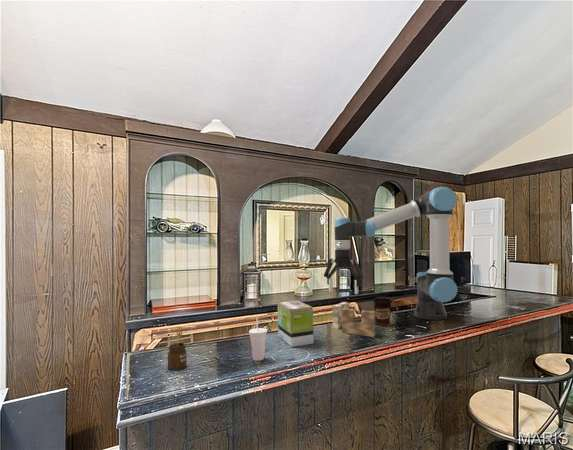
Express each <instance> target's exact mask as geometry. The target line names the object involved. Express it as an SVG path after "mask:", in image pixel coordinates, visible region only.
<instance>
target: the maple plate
mask: <svg viewBox="0 0 573 450" xmlns="http://www.w3.org/2000/svg"><path fill="white" fill-rule="evenodd" d="M331 308H332V312H331V313H332V329H335V330H340V329H342V309H343V308H346V309H350V308H349V301H342V302H339V303H337V304H334V305H333V306H331Z"/></svg>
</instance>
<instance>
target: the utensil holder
mask: <svg viewBox="0 0 573 450" xmlns="http://www.w3.org/2000/svg"><path fill="white" fill-rule="evenodd" d="M182 335H183V326H178V327H177V330H176V333H175V334H173V335H172V336H171V342H172V341H173V342H172V343H171V344H169V346H168V352H167V368H168V369H169V370H173V371H174V370H176V371H177V370H182V369H183V368H185V367H186V366H187V361H188V360H187V350H186V344H185V343H184V342H181V341H180V338H181V337H182ZM174 336H175V339H177V342H175V340H173V338H174Z"/></svg>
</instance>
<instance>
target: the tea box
mask: <svg viewBox="0 0 573 450" xmlns="http://www.w3.org/2000/svg"><path fill="white" fill-rule="evenodd" d="M313 312H314V309H313V306H311V305H310V304H306V303H304V302H303V301H299V300H292V301H290V300H289V301H283V302H282V301H281V302H277V333H278V337H279V338H280V339H281V340H283V341H284V342H285V343H286V344H287V345H289V346H290V347H291V348H293V347H301V346H307V345H312V344H314V342H315V341H314V340H315V339H314V336H315V335H314V313H313Z"/></svg>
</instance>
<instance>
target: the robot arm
mask: <svg viewBox="0 0 573 450" xmlns="http://www.w3.org/2000/svg"><path fill="white" fill-rule="evenodd" d="M457 202H458V196H457V195H456V193H455V192H454V190H453V189H451V188H449V187H448V186H447V187H446V186H439V187H435V188H434V189H432V190H429V191H427V192H425V193H423V194H422V195H421V196H418V197H416V198H415V199H412V200H410V202H409V203H407V204H403V205H401V206H399V207H397V208H393V209H391V210H388V211H386V212H382V213H381V214H378V215H376V216H372V217H370V218H367V219H365V220H362V221H351V220H350V217H336V218H335V219H334V248H335V250H334V258H329V260H328V264H327V267H326V269H325V271H324V273H323V277H324V278H326V283H327V285H328V292H329V293H331V292H333V291H334V289H333V288H334V287H333V282H334V281H333V277H332V276H333V275H334V274H335V273H336V271H337V270H338V269H348V271H349V272H350V273H351V275H352V276H353V277H354V279H355V280H354V295H358V294H359V287H361V280H362V279H363V280H364V278H365V276H364V274H363V272H362V270H361V267H360V265H359V264H358V259H357V258H355V259H354V258H353V259H352V258H351V238H353V237H355V238H365V237H366V238H369V237H371V238H372V237H374V236H375V234H376V232H378V231H380V230H384V229H386V228H388V227H390V226H395V225H396V224H399V223H401V222H404V221H406V220H410V219H412V218H415V217H416V218H420V217H421V218H422V217H423V216H426V217H427V218H428V220H429V268H428V269H427V271H420V272H417V273H416V279H415V280H416V290H417V291H416V293H417V302H416V305H415V308H414V317H415V318H418V319H423V320H430V321H440V320H446V319H447V312H446V308H445V305H444V303H449V302H451V301H452V300H454V299H455V297H456V295H458V286H457V284H456V282H455V281H454V272H453V271H451V270H450V219H451V218H452V217H453V215H454V208H455V207H456V205H457ZM334 263H335V265H334ZM351 264H352V265H353V266H352V265H351ZM333 265H334V266H333ZM332 267H333V268H332ZM353 267H354V268H353ZM355 270H356V271H355Z"/></svg>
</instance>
